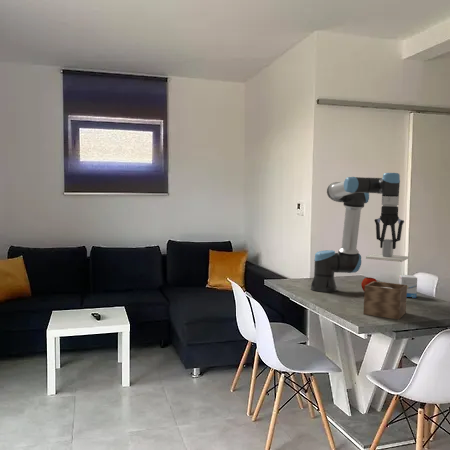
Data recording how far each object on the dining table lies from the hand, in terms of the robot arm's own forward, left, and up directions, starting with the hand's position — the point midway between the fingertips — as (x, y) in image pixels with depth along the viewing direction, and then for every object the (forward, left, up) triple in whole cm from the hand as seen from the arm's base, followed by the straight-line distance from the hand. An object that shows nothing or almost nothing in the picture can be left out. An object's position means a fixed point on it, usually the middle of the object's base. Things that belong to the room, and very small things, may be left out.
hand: (387, 255), depth 222 cm
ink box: (+1, +52, -28) cm, 59 cm away
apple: (-17, +38, -28) cm, 50 cm away
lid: (0, 0, -2) cm, 2 cm away
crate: (0, 0, -28) cm, 28 cm away
